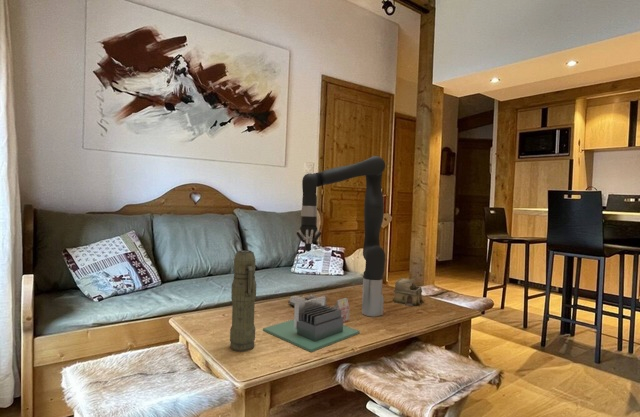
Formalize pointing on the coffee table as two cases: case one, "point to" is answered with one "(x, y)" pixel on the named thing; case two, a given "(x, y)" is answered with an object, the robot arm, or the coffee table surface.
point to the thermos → (243, 302)
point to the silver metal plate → (312, 305)
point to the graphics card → (305, 299)
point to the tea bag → (343, 308)
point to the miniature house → (407, 292)
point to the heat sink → (312, 327)
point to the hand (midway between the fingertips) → (307, 251)
